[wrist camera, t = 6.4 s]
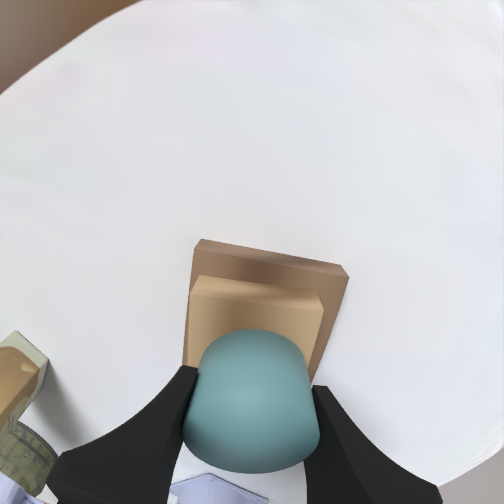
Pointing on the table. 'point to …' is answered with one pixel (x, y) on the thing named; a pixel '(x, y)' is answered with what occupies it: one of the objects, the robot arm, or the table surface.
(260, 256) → the walnut slab
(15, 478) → the thermos
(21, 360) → the skincare box
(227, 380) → the teal cylinder
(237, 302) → the oak block
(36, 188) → the table surface
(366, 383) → the table surface
